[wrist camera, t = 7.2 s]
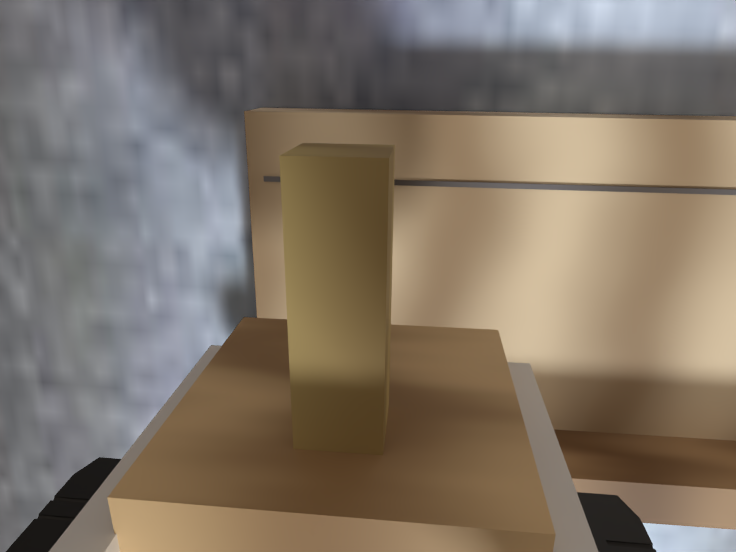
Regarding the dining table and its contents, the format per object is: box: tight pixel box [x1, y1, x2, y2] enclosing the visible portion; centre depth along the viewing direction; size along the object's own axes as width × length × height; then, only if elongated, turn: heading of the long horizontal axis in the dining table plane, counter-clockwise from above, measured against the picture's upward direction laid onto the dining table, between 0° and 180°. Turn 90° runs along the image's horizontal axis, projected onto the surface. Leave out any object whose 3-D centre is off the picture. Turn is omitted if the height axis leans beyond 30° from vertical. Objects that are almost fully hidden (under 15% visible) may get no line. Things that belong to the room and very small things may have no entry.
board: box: [244, 108, 736, 529], centre depth 17 cm, size 24×12×4 cm, turn 89°
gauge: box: [107, 143, 556, 552], centre depth 10 cm, size 6×8×6 cm
